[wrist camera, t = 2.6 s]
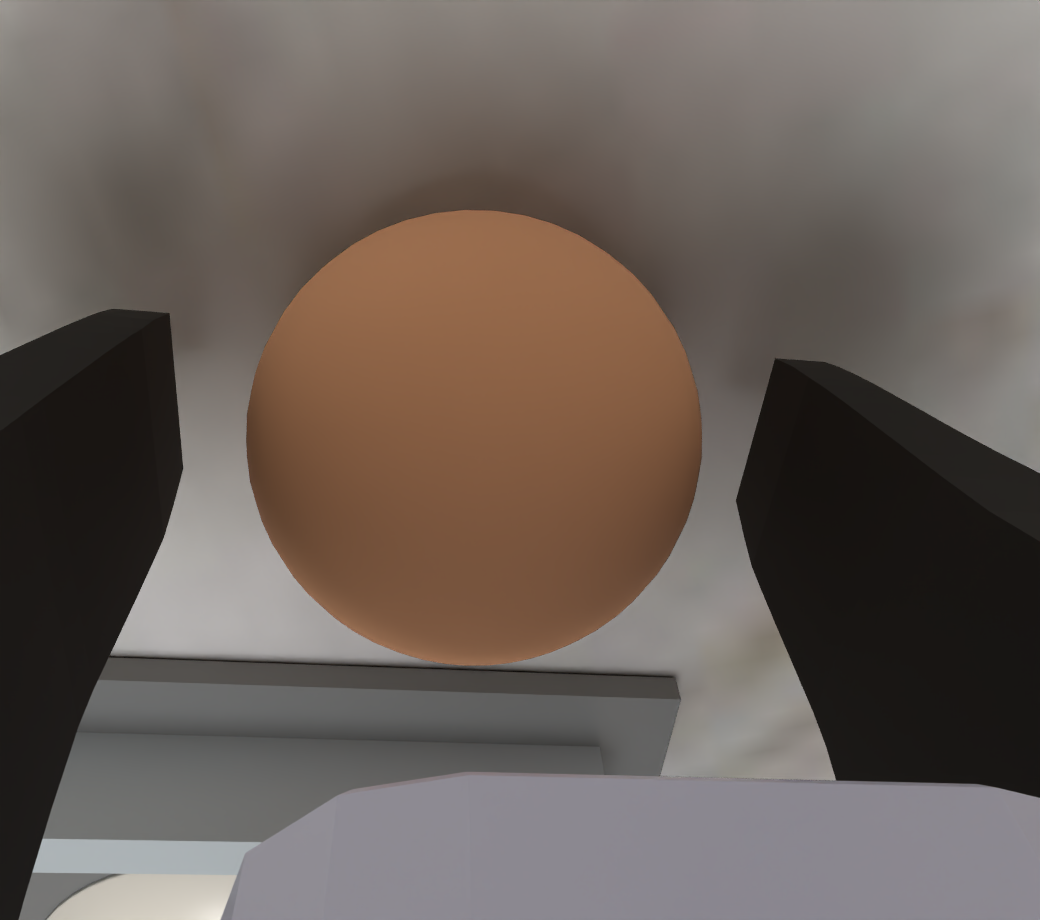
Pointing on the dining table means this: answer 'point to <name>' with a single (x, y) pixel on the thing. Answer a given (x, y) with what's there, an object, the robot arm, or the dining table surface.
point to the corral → (296, 763)
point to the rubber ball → (474, 437)
